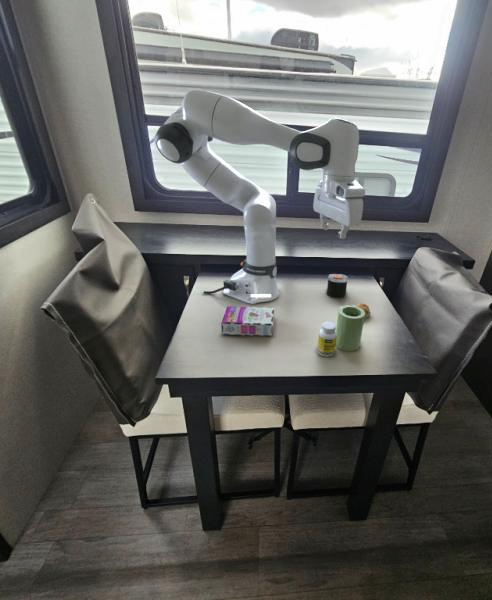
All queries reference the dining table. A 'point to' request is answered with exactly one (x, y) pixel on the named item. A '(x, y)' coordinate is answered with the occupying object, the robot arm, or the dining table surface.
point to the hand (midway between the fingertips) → (332, 233)
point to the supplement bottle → (327, 339)
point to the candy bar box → (248, 321)
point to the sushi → (337, 285)
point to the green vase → (349, 327)
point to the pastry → (365, 308)
